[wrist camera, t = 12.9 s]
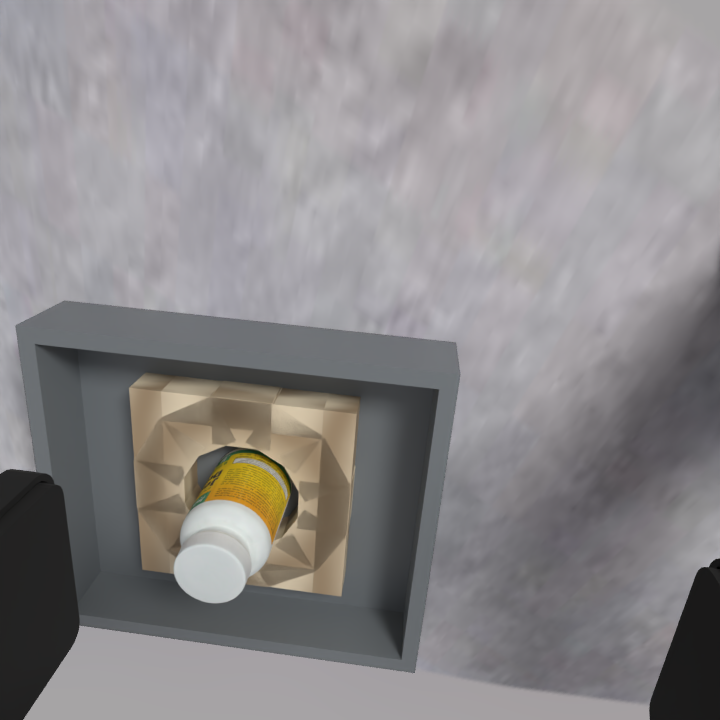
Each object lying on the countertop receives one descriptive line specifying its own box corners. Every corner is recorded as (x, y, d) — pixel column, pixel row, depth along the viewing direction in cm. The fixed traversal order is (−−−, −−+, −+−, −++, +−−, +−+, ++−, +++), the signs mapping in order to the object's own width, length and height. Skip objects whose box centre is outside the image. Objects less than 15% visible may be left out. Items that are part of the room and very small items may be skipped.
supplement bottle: (281, 520, 42) (243, 627, 34) (208, 495, 42) (151, 596, 33) (303, 459, 40) (269, 554, 32) (227, 432, 40) (171, 521, 31)
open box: (456, 342, 37) (460, 374, 33) (415, 616, 46) (414, 673, 41) (64, 300, 39) (15, 325, 34) (94, 572, 47) (58, 622, 42)
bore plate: (361, 396, 38) (357, 413, 36) (346, 572, 44) (341, 597, 41) (145, 371, 39) (128, 386, 37) (155, 547, 45) (141, 570, 42)
